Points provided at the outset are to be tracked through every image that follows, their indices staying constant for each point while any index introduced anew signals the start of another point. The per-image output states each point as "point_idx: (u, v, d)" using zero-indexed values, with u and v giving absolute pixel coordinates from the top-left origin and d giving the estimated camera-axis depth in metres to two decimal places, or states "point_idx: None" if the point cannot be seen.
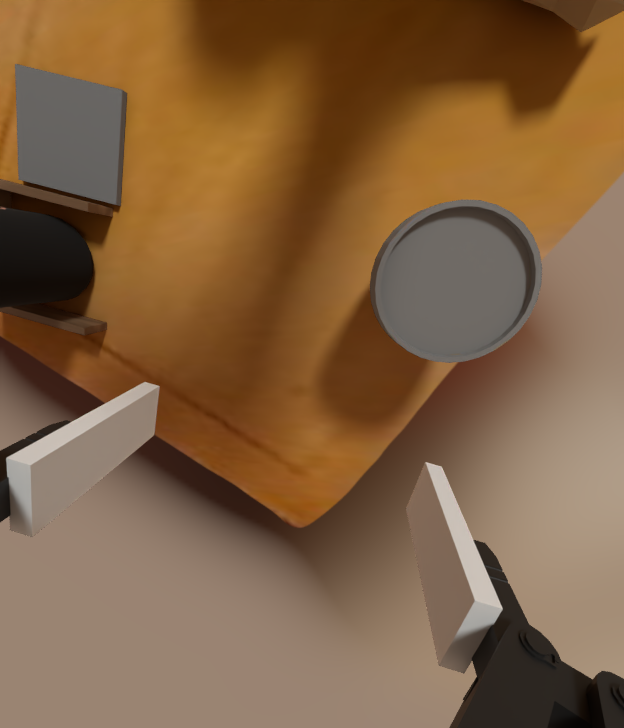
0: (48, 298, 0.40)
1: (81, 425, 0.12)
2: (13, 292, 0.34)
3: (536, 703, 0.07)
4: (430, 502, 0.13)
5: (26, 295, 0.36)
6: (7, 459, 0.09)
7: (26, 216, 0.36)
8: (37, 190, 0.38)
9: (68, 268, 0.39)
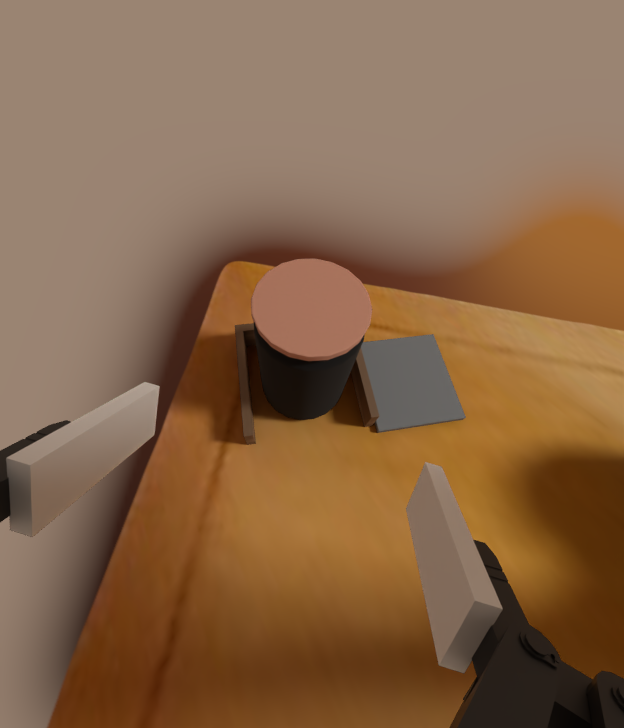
0: (276, 398, 0.37)
1: (81, 425, 0.12)
2: (291, 387, 0.33)
3: (536, 703, 0.07)
4: (430, 502, 0.13)
5: (284, 391, 0.34)
6: (7, 459, 0.09)
7: None
8: (365, 369, 0.42)
9: (312, 409, 0.38)
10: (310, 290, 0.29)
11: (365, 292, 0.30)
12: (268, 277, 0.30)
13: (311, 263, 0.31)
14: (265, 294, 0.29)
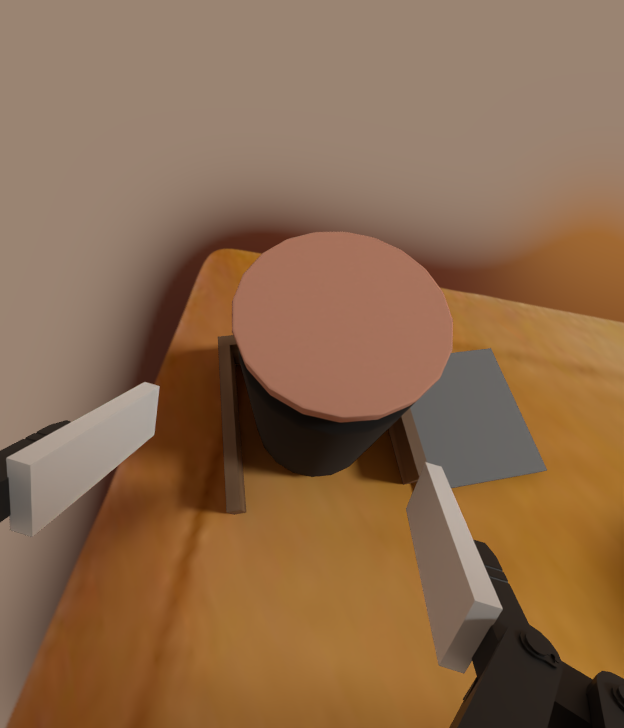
0: (276, 452, 0.24)
1: (81, 425, 0.12)
2: (301, 448, 0.20)
3: (536, 703, 0.07)
4: (430, 502, 0.13)
5: (290, 450, 0.21)
6: (7, 459, 0.09)
7: None
8: None
9: (331, 468, 0.25)
10: (340, 285, 0.16)
11: (437, 290, 0.17)
12: (264, 262, 0.17)
13: (339, 239, 0.18)
14: (258, 292, 0.16)
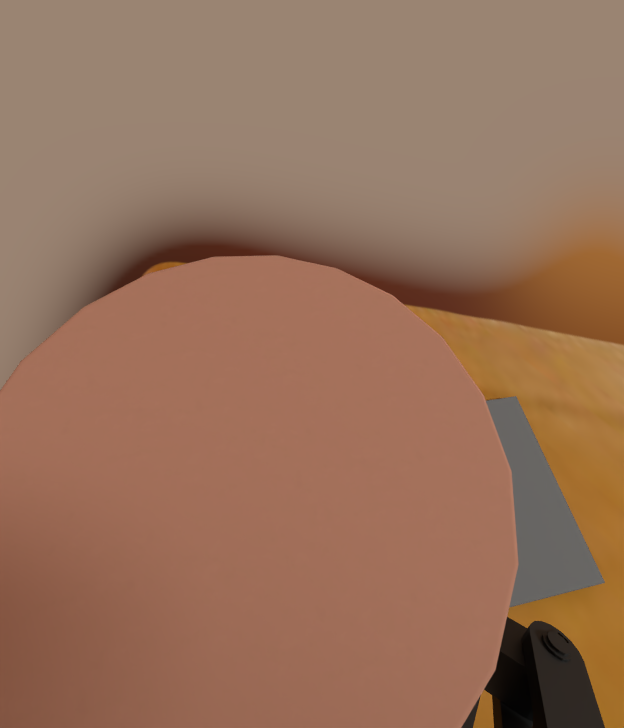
0: None
1: None
2: None
3: None
4: None
5: None
6: None
7: None
8: None
9: None
10: (247, 386, 0.07)
11: (472, 390, 0.07)
12: (80, 330, 0.07)
13: (262, 272, 0.08)
14: (41, 412, 0.06)
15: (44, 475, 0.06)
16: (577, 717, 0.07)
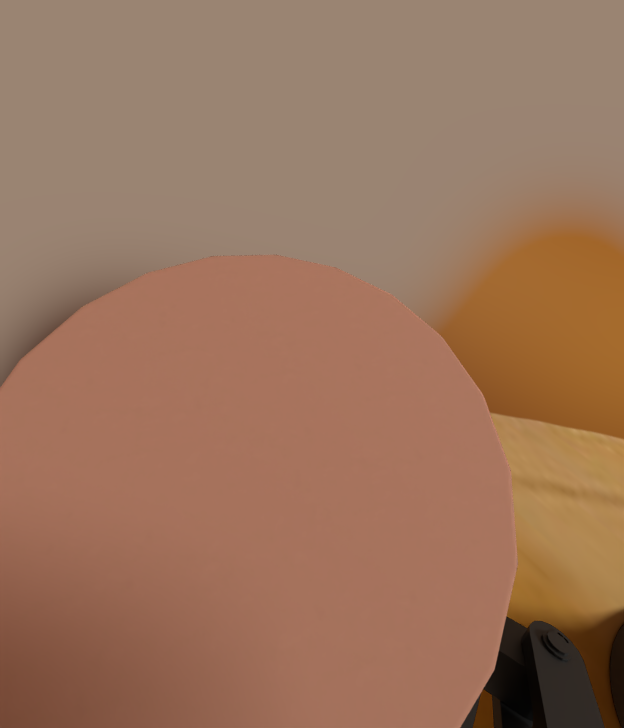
0: None
1: None
2: None
3: None
4: None
5: None
6: None
7: None
8: None
9: None
10: (247, 385, 0.07)
11: (471, 390, 0.07)
12: (79, 329, 0.07)
13: (261, 271, 0.08)
14: (40, 411, 0.06)
15: (42, 474, 0.06)
16: (577, 717, 0.07)
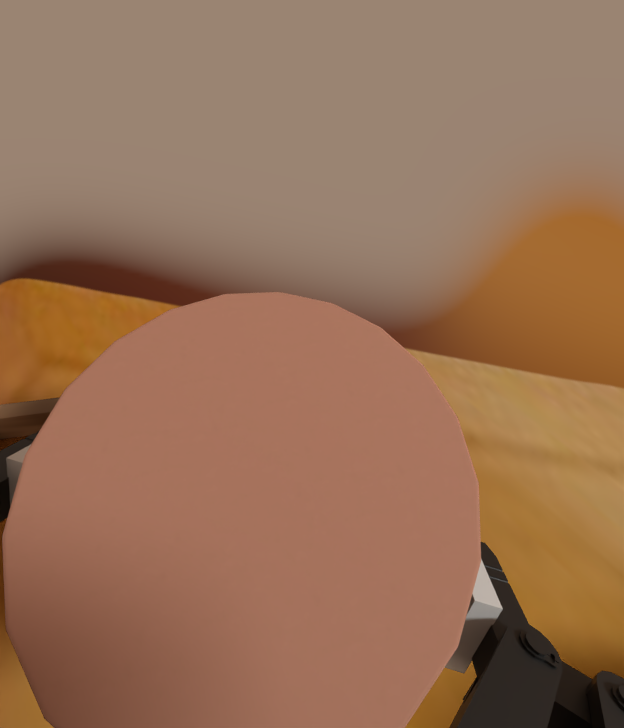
0: None
1: None
2: None
3: (536, 703, 0.07)
4: None
5: None
6: (7, 459, 0.09)
7: None
8: None
9: None
10: (256, 409, 0.08)
11: (447, 413, 0.09)
12: (113, 362, 0.09)
13: (267, 308, 0.10)
14: (84, 433, 0.08)
15: (89, 487, 0.07)
16: None
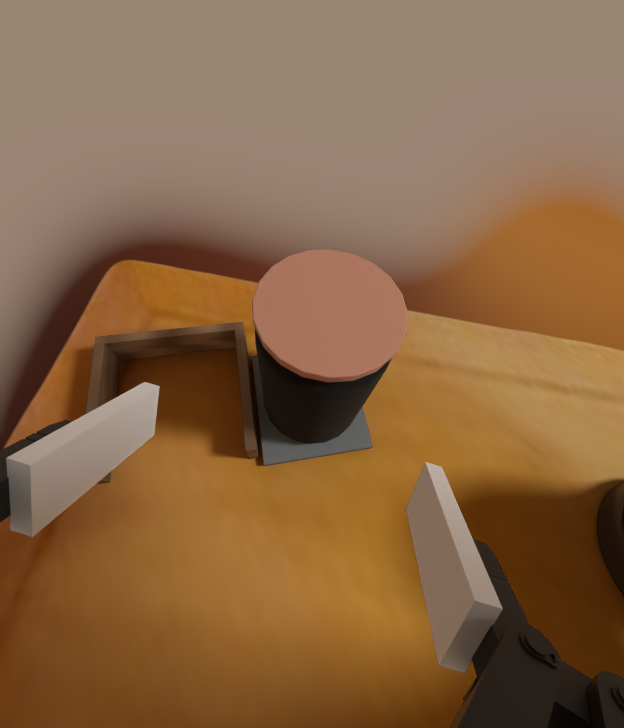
0: (281, 420, 0.31)
1: (81, 425, 0.12)
2: (301, 411, 0.26)
3: (536, 703, 0.07)
4: (430, 502, 0.13)
5: (292, 414, 0.28)
6: (7, 459, 0.09)
7: None
8: (248, 390, 0.35)
9: (325, 434, 0.32)
10: (328, 289, 0.23)
11: (398, 292, 0.23)
12: (274, 273, 0.23)
13: (328, 255, 0.24)
14: (270, 294, 0.22)
15: (276, 308, 0.22)
16: None
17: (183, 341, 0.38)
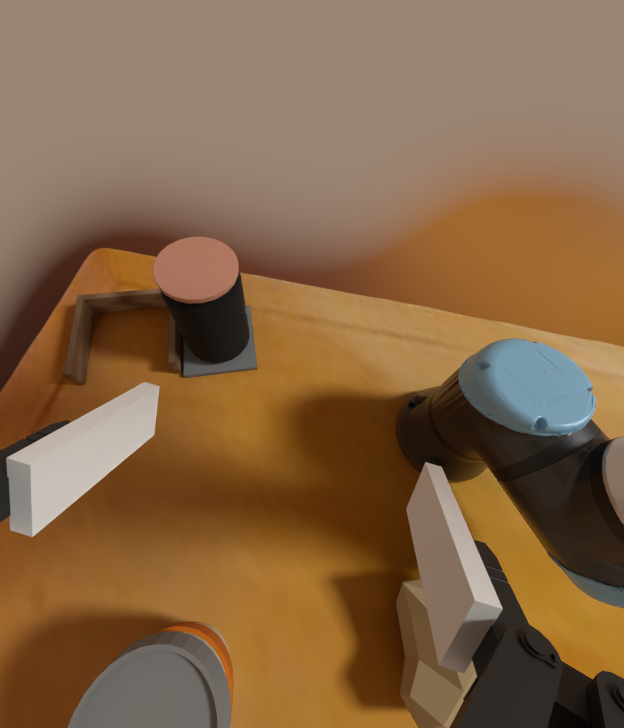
0: (188, 342, 0.51)
1: (81, 425, 0.12)
2: (190, 329, 0.46)
3: (536, 703, 0.07)
4: (430, 502, 0.13)
5: (189, 334, 0.47)
6: (7, 459, 0.09)
7: (245, 324, 0.52)
8: (174, 328, 0.54)
9: (217, 352, 0.51)
10: (196, 257, 0.42)
11: (235, 259, 0.43)
12: (168, 248, 0.43)
13: (200, 239, 0.44)
14: (164, 259, 0.42)
15: (165, 267, 0.41)
16: None
17: (136, 300, 0.58)
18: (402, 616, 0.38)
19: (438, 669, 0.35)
